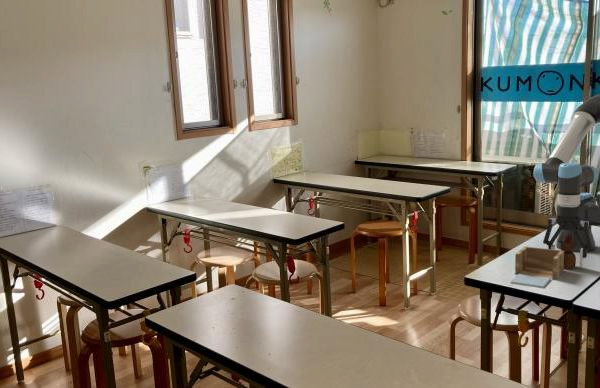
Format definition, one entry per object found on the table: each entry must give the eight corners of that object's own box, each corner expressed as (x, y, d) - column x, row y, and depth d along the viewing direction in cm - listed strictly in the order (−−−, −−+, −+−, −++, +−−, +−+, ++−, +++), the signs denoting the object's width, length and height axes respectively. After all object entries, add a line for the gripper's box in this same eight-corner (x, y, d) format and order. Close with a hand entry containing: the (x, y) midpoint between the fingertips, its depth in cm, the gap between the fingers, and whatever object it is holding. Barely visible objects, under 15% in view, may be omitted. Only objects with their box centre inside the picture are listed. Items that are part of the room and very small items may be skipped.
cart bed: (524, 269, 225) (524, 246, 223) (563, 274, 217) (564, 250, 215) (514, 278, 215) (514, 254, 213) (555, 284, 207) (556, 259, 205)
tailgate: (518, 273, 213) (510, 281, 205) (550, 278, 207) (543, 286, 199) (518, 276, 213) (510, 284, 205) (550, 281, 207) (543, 289, 199)
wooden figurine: (577, 273, 217) (578, 234, 214) (560, 273, 218) (561, 234, 215) (572, 268, 223) (574, 229, 221) (556, 268, 224) (557, 229, 222)
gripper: (534, 204, 220) (533, 262, 224) (600, 209, 207) (597, 270, 211) (539, 201, 226) (538, 258, 230) (603, 205, 213) (601, 265, 217)
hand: (566, 264), depth 220 cm, fingers open, 9 cm apart
